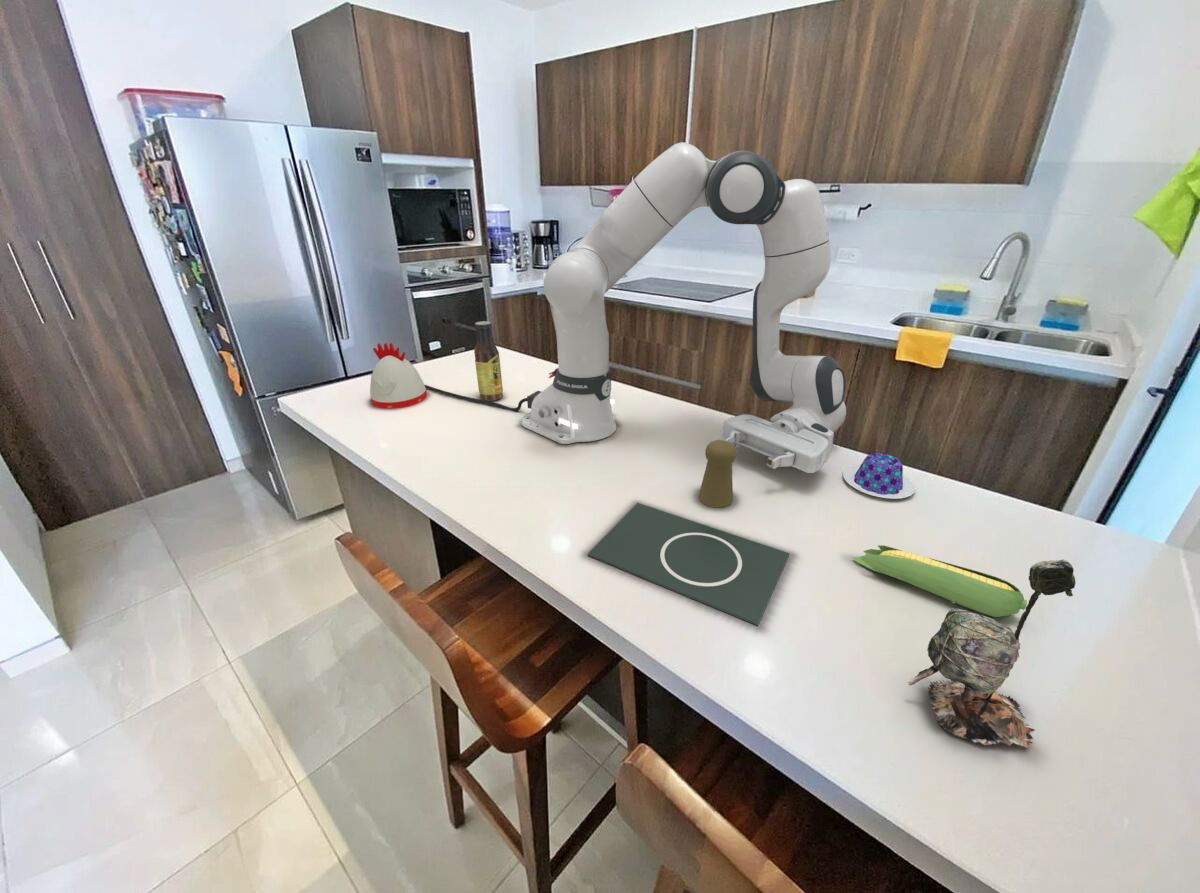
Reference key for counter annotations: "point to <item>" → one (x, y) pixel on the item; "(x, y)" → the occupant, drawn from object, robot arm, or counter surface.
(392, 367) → the grey and red dome
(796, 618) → the counter surface
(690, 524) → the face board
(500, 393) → the sauce bottle
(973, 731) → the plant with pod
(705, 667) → the counter surface
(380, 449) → the counter surface
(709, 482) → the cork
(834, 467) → the counter surface
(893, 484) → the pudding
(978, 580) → the edible corn
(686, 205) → the robot arm
